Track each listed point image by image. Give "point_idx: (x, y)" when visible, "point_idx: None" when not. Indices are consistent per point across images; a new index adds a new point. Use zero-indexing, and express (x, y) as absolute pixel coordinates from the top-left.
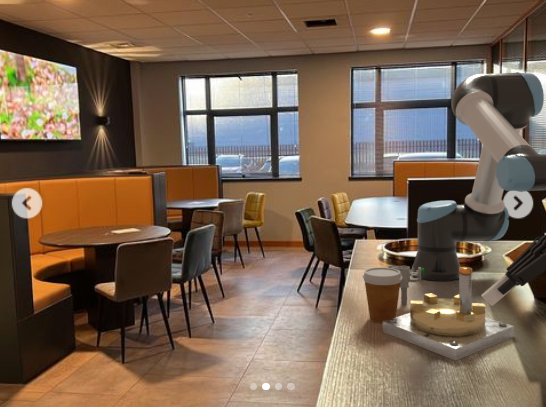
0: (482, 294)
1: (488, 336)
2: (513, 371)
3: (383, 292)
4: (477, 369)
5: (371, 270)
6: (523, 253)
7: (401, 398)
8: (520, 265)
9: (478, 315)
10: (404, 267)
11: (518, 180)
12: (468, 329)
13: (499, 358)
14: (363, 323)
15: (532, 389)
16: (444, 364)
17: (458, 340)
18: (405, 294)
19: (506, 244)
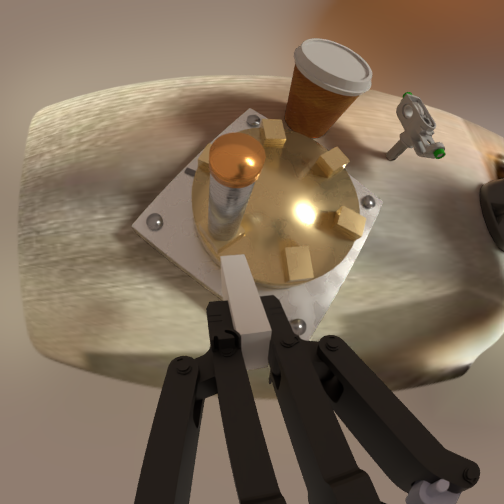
0: (241, 256)
1: (219, 294)
2: (114, 333)
3: (295, 79)
4: (108, 271)
5: (345, 51)
6: (392, 418)
7: (28, 174)
8: (254, 407)
9: (257, 265)
10: (430, 122)
11: None
12: (205, 246)
13: (166, 315)
14: (275, 98)
15: (61, 350)
16: (120, 216)
17: (176, 230)
18: (396, 149)
19: None
